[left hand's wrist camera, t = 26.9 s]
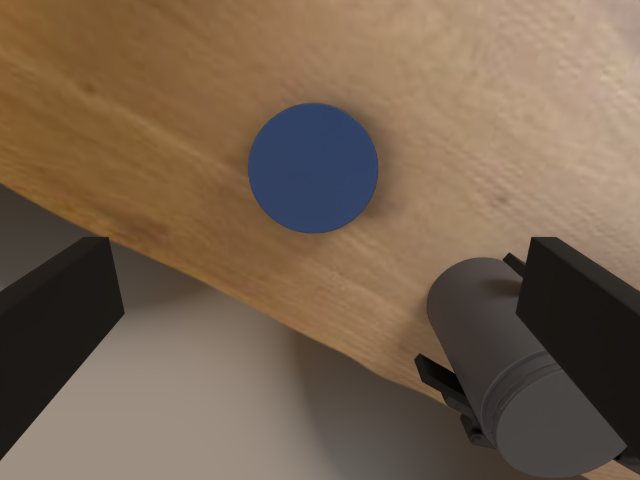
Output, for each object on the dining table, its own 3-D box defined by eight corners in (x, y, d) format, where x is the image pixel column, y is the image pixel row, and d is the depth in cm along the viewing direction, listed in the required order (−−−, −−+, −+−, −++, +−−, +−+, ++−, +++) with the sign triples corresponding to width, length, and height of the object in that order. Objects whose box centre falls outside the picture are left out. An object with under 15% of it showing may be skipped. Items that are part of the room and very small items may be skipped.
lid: (384, 110, 31) (388, 112, 29) (364, 231, 35) (367, 239, 33) (254, 95, 31) (251, 96, 29) (248, 220, 34) (245, 226, 32)
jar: (544, 280, 37) (683, 396, 23) (489, 355, 39) (582, 498, 26) (459, 241, 35) (551, 340, 21) (408, 323, 38) (461, 456, 24)
